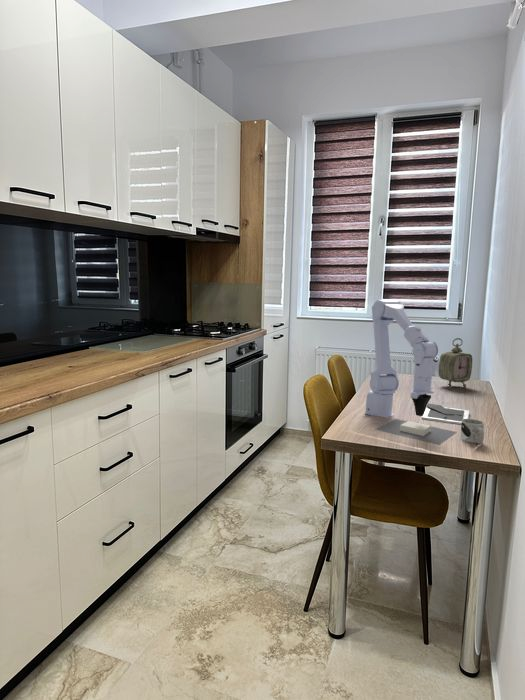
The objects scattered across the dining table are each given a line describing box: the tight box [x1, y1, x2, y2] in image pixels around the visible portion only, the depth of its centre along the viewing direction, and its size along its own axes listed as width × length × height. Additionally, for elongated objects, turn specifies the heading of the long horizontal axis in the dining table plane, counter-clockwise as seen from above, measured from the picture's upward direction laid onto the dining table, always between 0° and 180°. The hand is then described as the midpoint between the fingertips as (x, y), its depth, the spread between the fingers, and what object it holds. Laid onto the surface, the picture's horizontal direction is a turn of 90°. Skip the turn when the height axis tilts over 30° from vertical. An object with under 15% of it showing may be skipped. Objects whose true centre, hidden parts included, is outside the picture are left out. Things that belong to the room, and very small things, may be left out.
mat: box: [374, 418, 458, 446], centre depth 164 cm, size 22×18×1 cm
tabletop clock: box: [438, 337, 473, 389], centre depth 240 cm, size 14×9×25 cm, turn 118°
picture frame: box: [421, 402, 470, 426], centre depth 185 cm, size 16×3×21 cm
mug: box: [459, 418, 485, 445], centre depth 155 cm, size 10×7×7 cm
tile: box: [400, 420, 432, 436], centre depth 163 cm, size 8×2×7 cm
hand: (419, 415), depth 165 cm, fingers closed
